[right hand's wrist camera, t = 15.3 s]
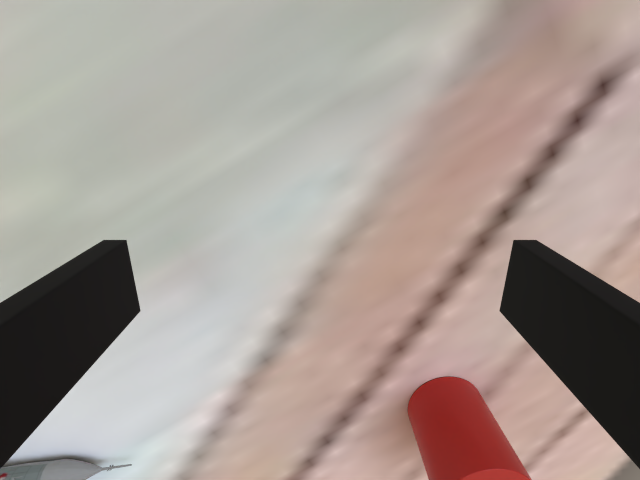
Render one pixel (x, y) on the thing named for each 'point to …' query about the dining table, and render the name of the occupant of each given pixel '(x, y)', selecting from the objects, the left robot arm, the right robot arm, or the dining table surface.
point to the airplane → (52, 470)
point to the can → (460, 434)
